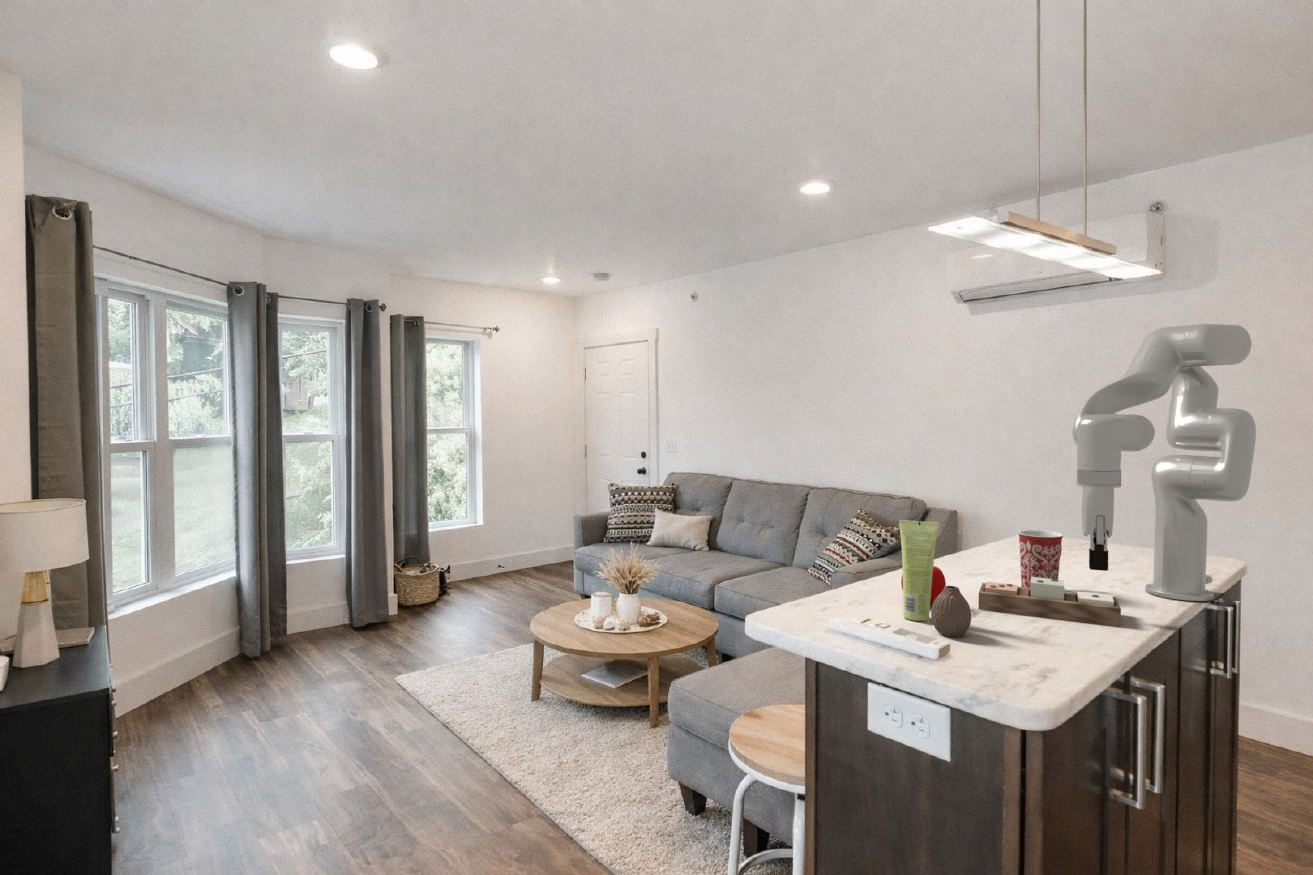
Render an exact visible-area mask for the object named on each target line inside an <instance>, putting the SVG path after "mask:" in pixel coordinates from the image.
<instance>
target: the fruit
mask: <svg viewBox="0 0 1313 875" xmlns="http://www.w3.org/2000/svg"><path fill="white" fill-rule="evenodd" d="M943 572H944V571H942V570H941V568H939V567H938V566H934V565H933V574H932V585H931V599H930V606H932V605H933V602H934V600H935V599H936V598H937V597H938V595H939V594H940V593H941V592H942V591H943V589H944V587H945V586H947V582H946V577H945V575H944V573H943ZM900 580H901V581H900V583H901V590H902V591H903V573H902V574H901V579H900Z"/></svg>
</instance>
